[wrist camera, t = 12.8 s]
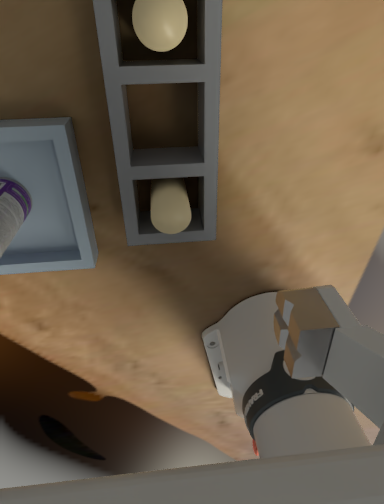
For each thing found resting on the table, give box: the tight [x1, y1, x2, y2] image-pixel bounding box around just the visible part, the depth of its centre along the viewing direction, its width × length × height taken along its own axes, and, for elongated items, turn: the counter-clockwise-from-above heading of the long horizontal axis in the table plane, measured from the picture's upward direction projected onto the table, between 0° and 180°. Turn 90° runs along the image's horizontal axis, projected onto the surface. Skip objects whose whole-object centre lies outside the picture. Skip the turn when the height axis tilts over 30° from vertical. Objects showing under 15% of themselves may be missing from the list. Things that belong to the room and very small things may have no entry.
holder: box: [93, 0, 222, 246], centre depth 29 cm, size 22×9×7 cm, turn 1°
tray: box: [0, 117, 98, 275], centre depth 34 cm, size 15×15×3 cm
